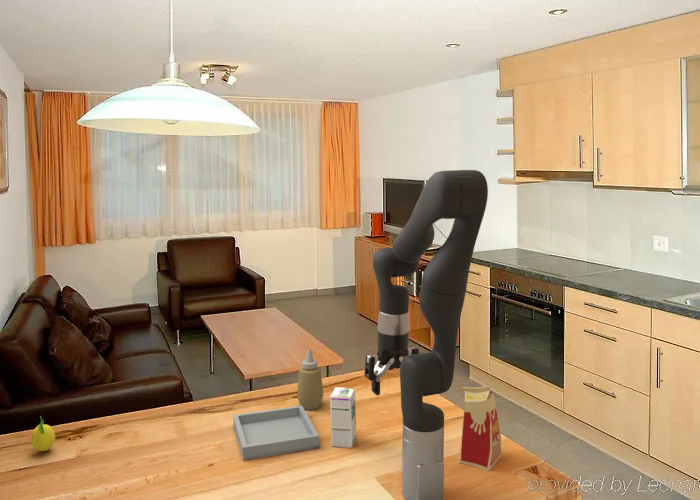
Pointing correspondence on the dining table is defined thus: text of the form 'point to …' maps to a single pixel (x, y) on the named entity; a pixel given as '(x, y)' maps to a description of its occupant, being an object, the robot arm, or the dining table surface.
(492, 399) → the milk carton
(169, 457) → the dining table surface
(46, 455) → the dining table surface
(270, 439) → the tray
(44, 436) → the lemon
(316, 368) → the squeeze bottle
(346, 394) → the syrup box
